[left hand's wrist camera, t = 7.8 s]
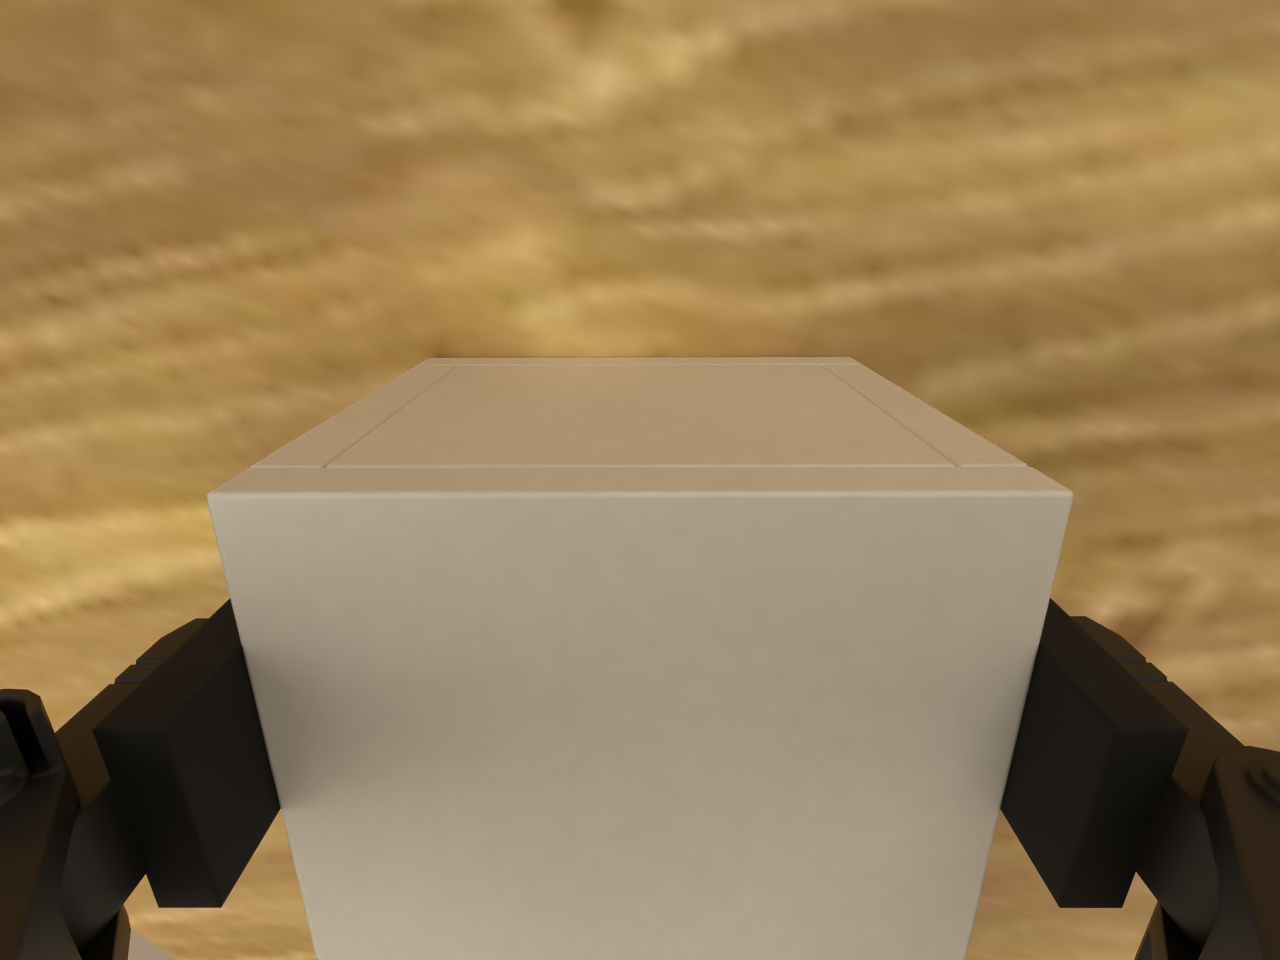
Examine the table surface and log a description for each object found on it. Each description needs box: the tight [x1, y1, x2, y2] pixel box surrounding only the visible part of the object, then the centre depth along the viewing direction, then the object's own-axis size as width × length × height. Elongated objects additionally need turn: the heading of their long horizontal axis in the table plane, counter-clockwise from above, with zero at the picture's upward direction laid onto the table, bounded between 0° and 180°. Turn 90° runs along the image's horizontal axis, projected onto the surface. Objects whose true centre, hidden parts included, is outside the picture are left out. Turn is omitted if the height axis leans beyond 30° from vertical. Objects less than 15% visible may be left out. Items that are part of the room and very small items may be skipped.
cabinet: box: [207, 357, 1073, 960], centre depth 15 cm, size 20×10×9 cm, turn 0°
